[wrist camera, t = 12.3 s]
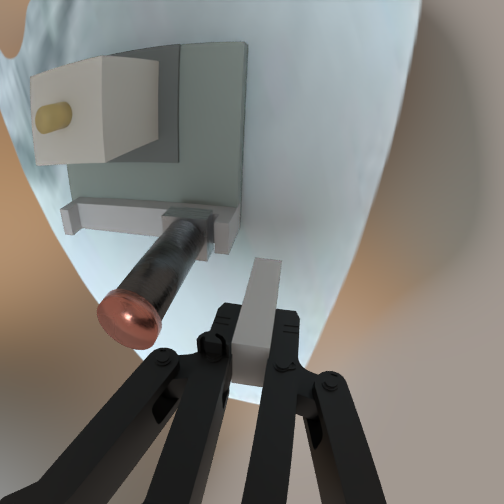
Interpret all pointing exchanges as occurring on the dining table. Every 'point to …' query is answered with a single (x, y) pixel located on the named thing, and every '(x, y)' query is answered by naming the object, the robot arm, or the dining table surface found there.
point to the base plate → (174, 150)
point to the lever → (157, 278)
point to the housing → (94, 109)
